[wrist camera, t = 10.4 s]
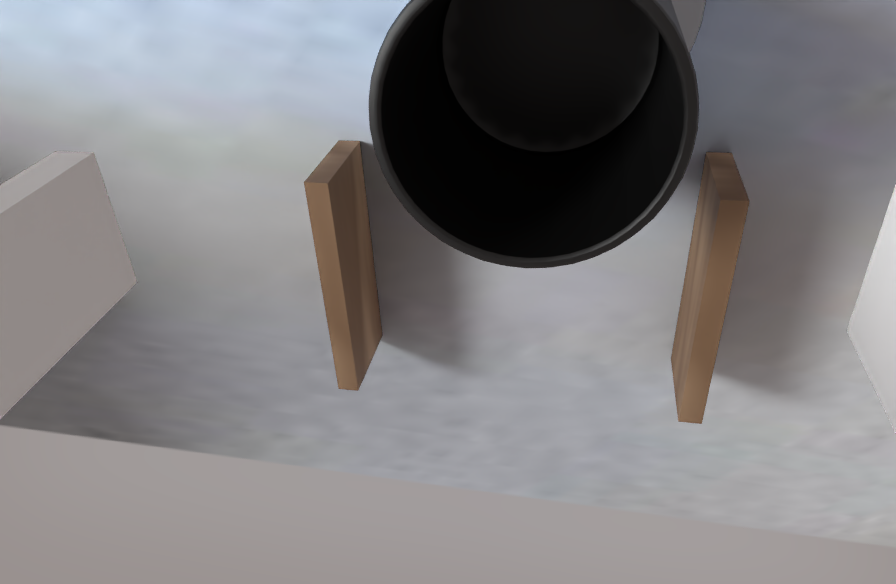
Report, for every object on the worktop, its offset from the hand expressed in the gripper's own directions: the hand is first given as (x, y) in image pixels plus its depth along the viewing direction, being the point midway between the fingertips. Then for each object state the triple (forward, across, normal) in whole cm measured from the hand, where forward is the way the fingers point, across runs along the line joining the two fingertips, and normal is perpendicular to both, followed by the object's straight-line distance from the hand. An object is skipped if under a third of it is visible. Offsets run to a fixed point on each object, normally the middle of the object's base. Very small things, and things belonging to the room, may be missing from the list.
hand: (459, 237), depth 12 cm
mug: (+18, 0, 0) cm, 18 cm away
